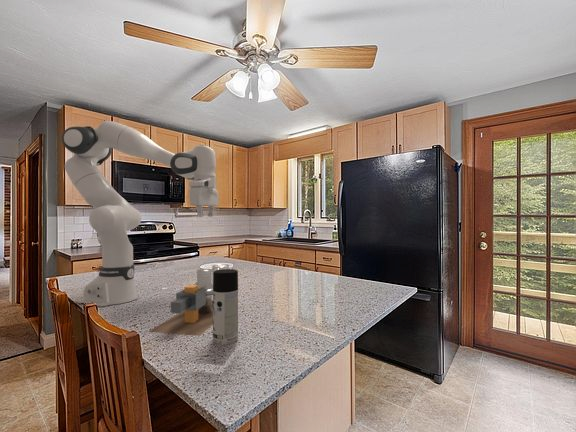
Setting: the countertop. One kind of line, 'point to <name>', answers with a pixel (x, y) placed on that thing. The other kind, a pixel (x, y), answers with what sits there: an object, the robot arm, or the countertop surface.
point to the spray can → (225, 306)
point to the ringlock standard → (196, 295)
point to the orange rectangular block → (191, 315)
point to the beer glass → (218, 268)
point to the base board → (186, 324)
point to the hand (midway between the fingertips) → (205, 216)
